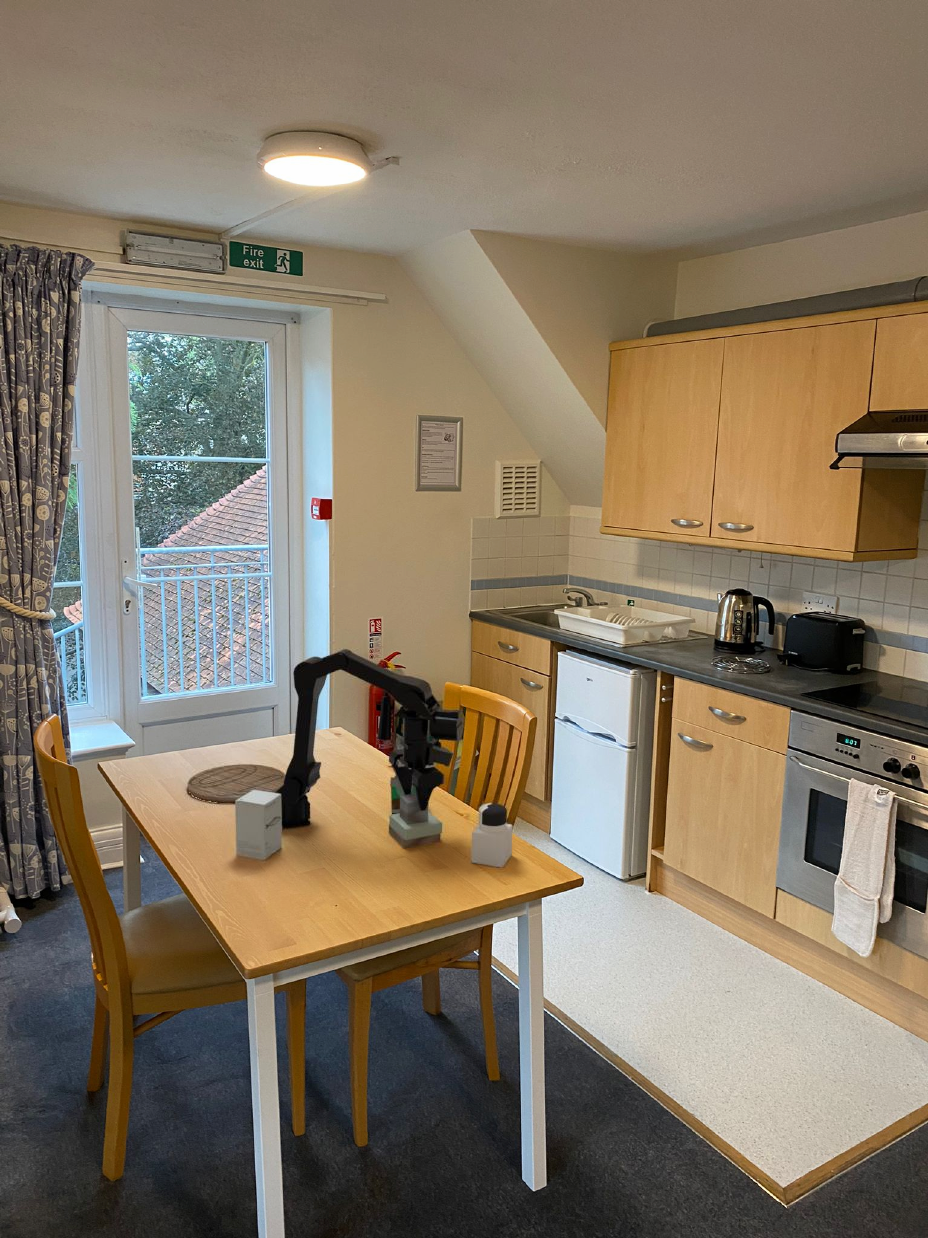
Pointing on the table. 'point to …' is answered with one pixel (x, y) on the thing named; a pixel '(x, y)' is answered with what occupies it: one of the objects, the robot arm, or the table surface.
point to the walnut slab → (414, 841)
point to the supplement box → (258, 824)
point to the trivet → (234, 782)
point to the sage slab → (415, 827)
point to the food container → (396, 794)
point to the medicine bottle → (492, 836)
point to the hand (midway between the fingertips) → (415, 803)
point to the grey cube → (412, 810)
